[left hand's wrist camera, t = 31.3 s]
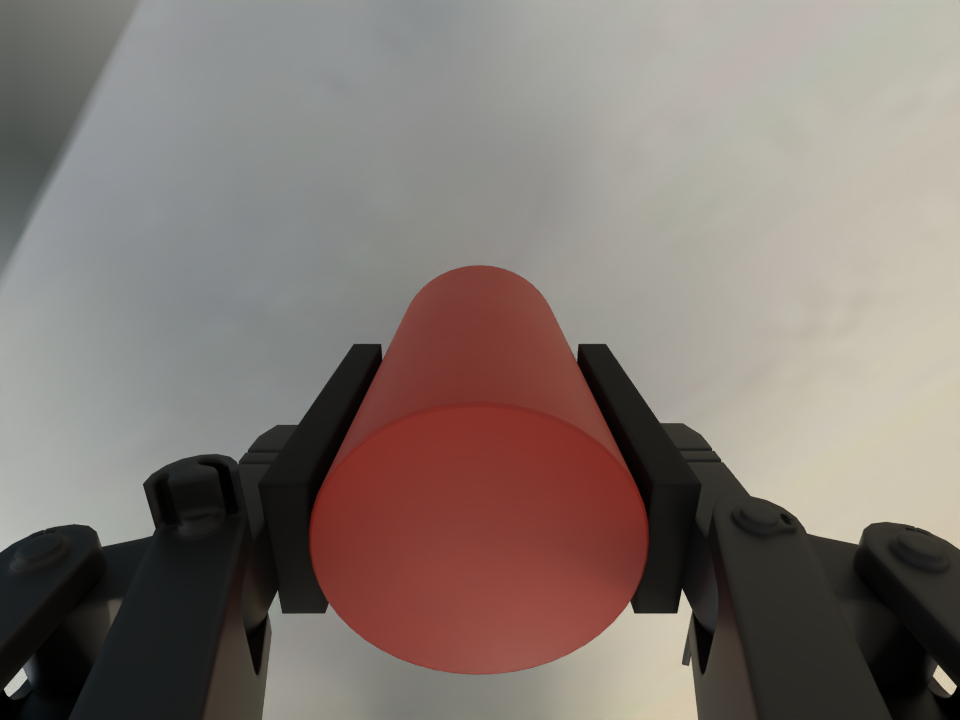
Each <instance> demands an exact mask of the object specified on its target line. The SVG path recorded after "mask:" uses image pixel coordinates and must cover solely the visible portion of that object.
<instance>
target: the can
mask: <svg viewBox="0 0 960 720" xmlns="http://www.w3.org/2000/svg"><path fill="white" fill-rule="evenodd" d="M648 547H649V526H648V519H647V514H646V510H645V505H644V502H643V500H642V497H641V495H640V493H639V490H638V488H637V485H636V483H635V481H634V479H633V477H632V475H631V473H630V471H629V469H628V467H627V465H626V463H625V461H624V459H623V456H622V454H621V452H620V450H619V448H618V446H617V444H616V442H615V440H614V438H613V436H612V434H611V432H610V430H609V428H608V425H607V423H606V421H605V419H604V417H603V415H602V413H601V411H600V409H599V407H598V405H597V403H596V401H595V399H594V397H593V395H592V392H591V390H590V388H589V386H588V384H587V382H586V380H585V378H584V376H583V374H582V372H581V370H580V368H579V366H578V364H577V361H576V359H575V357H574V355H573V353H572V351H571V349H570V347H569V345H568V343H567V341H566V339H565V337H564V335H563V333H562V331H561V328H560V326H559V324H558V322H557V320H556V318H555V316H554V314H553V312H552V310H551V308H550V306H549V304H548V303H547V301H546V299H545V298H544V297H543V296H542V294H541V293H540V292H539V291H538V290H537V289H536V288H535V287H534V286H533V285H532V284H531V283H529V282H528V281H527V280H525V279H524V278H522V277H520V276H519V275H517V274H515V273H513V272H510V271H508V270H505V269H501V268H497V267H493V266H483V265H480V266H467V267H461V268H457V269H454V270H451V271H448V272H446V273H444V274H442V275H440V276H438V277H436V278H435V279H433V280H432V281H430V282H429V283H428V284H427V285H426V286H424V287H423V288H422V289H421V290H420V292H419V293H418V294H417V295H416V296H415V298H414V299H413V300H412V302H411V303H410V305H409V307H408V309H407V311H406V313H405V315H404V317H403V320H402V322H401V324H400V326H399V328H398V330H397V332H396V334H395V336H394V338H393V340H392V342H391V344H390V346H389V348H388V350H387V352H386V354H385V356H384V358H383V361H382V363H381V365H380V367H379V369H378V371H377V373H376V375H375V377H374V379H373V381H372V383H371V385H370V387H369V389H368V391H367V393H366V395H365V397H364V400H363V402H362V404H361V406H360V408H359V410H358V412H357V414H356V416H355V418H354V420H353V422H352V424H351V426H350V428H349V430H348V432H347V434H346V436H345V438H344V441H343V443H342V445H341V447H340V449H339V451H338V453H337V455H336V457H335V459H334V461H333V463H332V465H331V467H330V469H329V471H328V473H327V475H326V477H325V480H324V482H323V484H322V486H321V488H320V490H319V492H318V494H317V496H316V499H315V503H314V506H313V509H312V512H311V518H310V526H309V551H310V556H311V561H312V566H313V570H314V573H315V576H316V578H317V581H318V584H319V586H320V588H321V590H322V592H323V593H324V595H325V597H326V599H327V601H328V602H329V603H330V605H331V606H332V607H333V609H334V610H335V611H336V613H337V614H338V615H339V616H340V617H341V619H342V620H343V621H344V622H345V623H346V624H347V625H348V626H349V627H350V628H351V629H353V630H354V631H355V632H356V633H357V634H359V635H360V636H361V637H362V638H364V639H365V640H366V641H368V642H370V643H371V644H373V645H374V646H376V647H377V648H379V649H381V650H382V651H385V652H387V653H389V654H391V655H393V656H395V657H397V658H399V659H402V660H404V661H407V662H410V663H412V664H415V665H418V666H422V667H426V668H430V669H434V670H439V671H445V672H451V673H461V674H497V673H506V672H514V671H519V670H523V669H528V668H533V667H536V666H539V665H542V664H545V663H549V662H551V661H554V660H556V659H558V658H561V657H563V656H565V655H568V654H570V653H571V652H573V651H575V650H577V649H579V648H580V647H582V646H584V645H586V644H587V643H588V642H590V641H591V640H593V639H594V638H595V637H597V636H598V635H600V634H601V633H602V632H603V631H604V630H605V629H606V628H607V627H608V626H610V625H611V624H612V623H613V622H614V621H615V620H616V618H617V617H618V616H619V615H620V614H621V613H622V611H623V610H624V609H625V608H626V606H627V605H628V603H629V601H630V600H631V598H632V597H633V595H634V594H635V592H636V590H637V587H638V585H639V583H640V581H641V579H642V576H643V572H644V569H645V565H646V562H647V555H648Z"/></svg>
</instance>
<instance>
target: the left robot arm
mask: <svg viewBox="0 0 960 720" xmlns="http://www.w3.org/2000/svg"><path fill="white" fill-rule="evenodd" d="M381 363H382V349H381V344H354V345H353V346H352V348H351V349H350V350H349V352H348V353H347V355H346V356H345V358H344V359H343V361H342V362H341V364H340V365H339V367H338V368H337V369H336V371H335V372H334V374H333V375H332V377H331V378H330V380H329V381H328V383H327V384H326V385H325V387H324V388H323V390H322V391H321V393H320V394H319V396H318V397H317V399H316V400H315V401H314V403H313V404H312V406H311V407H310V409H309V410H308V412H307V413H306V415H305V416H304V418H303V419H302V420H301V422H300V423H299V425H276V426H275V427H273V428H272V429H270V430H268V431H267V432H265V433H264V434H262V435H260V436H259V437H258V438H257V439H256V441H255V442H254V443H253V444H252V446H251V447H250V448H249V449H248V453H245V454H244V456H243V457H242V458H241V459H240V461H239V464H237V462H236V461H235V460H233V459H232V458H231V457H229V456H224V455H219V454H209V455H198V456H193V457H189V458H184V459H181V460H179V461H176V462H174V463H171V464H169V465H166V466H164V467H163V468H161V469H160V470H158V471H156V472H155V473H153V474H152V475H151V476H150V477H149V478H148V479H147V480H146V481H145V482H144V484H143V486H144V490H145V493H146V497H147V500H148V504H149V507H150V510H151V514H152V517H153V521H154V524H155V528H156V529H155V531H154V534H153V536H150V537H147V538H143V539H138V540H133V541H128V542H124V543H119V544H114V545H109V546H104V547H102V546H101V543H100V540H99V537H98V535H97V532H96V531H95V530H93V529H92V528H91V527H89V526H85V525H76V524H73V525H65V526H58V527H53V528H48V529H46V530H42V531H39V532H36V533H33V534H31V535H30V536H28V537H26V538H24V539H22V540H20V541H18V542H16V543H14V544H12V545H11V546H9V547H8V548H6V549H5V550H3V551H2V552H1V553H0V720H262V714H263V705H264V696H265V687H266V678H267V669H268V660H269V651H270V642H271V633H272V632H271V625H270V620H269V615H268V610H269V608H270V605H271V603H272V601H273V599H274V597H275V595H276V593H277V591H278V593H279V598H280V603H281V609H282V613H325V612H326V609H327V606H328V603H329V602H328V601H327V599H326V597H325V595H324V593H323V592H322V590H321V588H320V586H319V584H318V581H317V578H316V576H315V573H314V570H313V566H312V561H311V556H310V551H309V526H310V518H311V512H312V509H313V506H314V503H315V499H316V496H317V494H318V492H319V490H320V488H321V486H322V484H323V482H324V480H325V477H326V475H327V473H328V471H329V469H330V467H331V465H332V463H333V461H334V459H335V457H336V455H337V453H338V451H339V449H340V447H341V445H342V443H343V441H344V438H345V436H346V434H347V432H348V430H349V428H350V426H351V424H352V422H353V420H354V418H355V416H356V414H357V412H358V410H359V408H360V406H361V404H362V402H363V400H364V397H365V395H366V393H367V391H368V389H369V387H370V385H371V383H372V381H373V379H374V377H375V375H376V373H377V371H378V369H379V367H380V365H381ZM577 364H578V366H579V368H580V370H581V372H582V374H583V376H584V378H585V380H586V382H587V384H588V386H589V388H590V390H591V392H592V395H593V397H594V399H595V401H596V403H597V405H598V407H599V409H600V411H601V413H602V415H603V417H604V419H605V421H606V423H607V425H608V428H609V430H610V432H611V434H612V436H613V438H614V440H615V442H616V444H617V446H618V448H619V450H620V452H621V454H622V456H623V459H624V461H625V463H626V465H627V467H628V469H629V471H630V473H631V475H632V477H633V479H634V481H635V483H636V485H637V488H638V490H639V493H640V495H641V497H642V500H643V502H644V505H645V510H646V514H647V519H648V526H649V547H648V555H647V562H646V565H645V569H644V572H643V576H642V579H641V581H640V583H639V585H638V587H637V590H636V592H635V594H634V595H633V597H632V598H631V600H630V602H631V605H632V607H633V610H634V613H677V612H678V607H679V601H680V596H681V591H682V589H683V591H684V593H685V595H686V597H687V599H688V601H689V604H690V606H691V608H692V615H691V620H690V624H689V629H688V634H687V639H686V644H685V649H684V654H683V660H682V664H683V665H687V666H689V662H690V658H691V659H692V668H693V676H694V685H695V694H696V703H697V712H698V720H960V550H959V549H958V548H956V547H955V546H953V545H952V544H950V543H949V542H948V541H946V540H944V539H942V538H939V537H937V536H935V535H933V534H931V533H930V532H928V531H926V530H923V529H920V528H915V527H914V526H909V525H905V524H897V523H890V522H881V523H873V524H871V525H869V526H868V527H866V528H865V529H864V530H863V533H862V536H861V539H860V542H859V545H857V544H852V543H847V542H842V541H838V540H833V539H828V538H823V537H818V536H814V535H810V534H807V533H806V531H805V528H804V527H803V526H802V524H801V523H800V522H799V520H798V519H797V518H796V517H795V516H794V515H792V514H791V513H790V512H788V511H787V510H785V509H784V508H783V507H780V506H778V505H776V504H774V503H772V502H769V501H767V500H764V499H760V498H756V497H752V496H750V495H749V494H748V492H747V491H746V490H745V489H744V487H743V486H742V485H741V484H740V482H739V481H738V480H737V479H736V477H735V476H734V475H733V474H732V473H731V471H730V470H729V469H728V468H727V466H726V465H725V464H724V463H723V462H721V459H720V458H719V456H718V455H717V454H716V453H715V451H712V448H711V446H710V445H709V444H708V443H707V442H706V440H705V439H704V438H703V437H702V435H701V434H699V433H697V432H696V431H694V430H693V429H691V428H689V427H688V426H686V425H685V424H683V423H660V422H659V421H658V420H657V418H656V417H655V415H654V414H653V412H652V411H651V409H650V408H649V406H648V405H647V404H646V402H645V401H644V399H643V398H642V396H641V395H640V393H639V392H638V390H637V389H636V387H635V386H634V385H633V383H632V382H631V380H630V379H629V377H628V376H627V374H626V373H625V371H624V370H623V369H622V367H621V366H620V364H619V363H618V361H617V360H616V358H615V357H614V355H613V354H612V352H611V351H610V350H609V348H608V347H607V345H606V344H578V358H577ZM938 665H939V666H940V667H941V668H942V669H943V671H944V672H945V673H946V674H947V675H948V676H949V678H950V679H951V680H952V681H953V682H954V683H955V684H956V686H957V688H956V690H955V692H954V693H953V694H952V695H950V694H949V693H948V692H947V691H945V690H944V689H943V688H942V687H941V685H940V684H939V683H938V682H937V681H936V680H935V678H934V677H933V674H934V672H935V670H936V668H937V666H938ZM22 667H23V669H24V671H25V673H26V675H27V677H28V679H27V680H26V681H25V682H24V683H23V685H22V686H21V687H20V688H19V689H18V690H17V691H16V692H15V693H14V694H13V695H11V696H10V697H8V696H7V695H6V693H5V691H4V688H5V687H6V686H7V684H8V683H9V682H10V681H11V680H12V679H13V678H14V676H15V675H16V674H17V673H18V672H19V671H20V669H21V668H22Z"/></svg>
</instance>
